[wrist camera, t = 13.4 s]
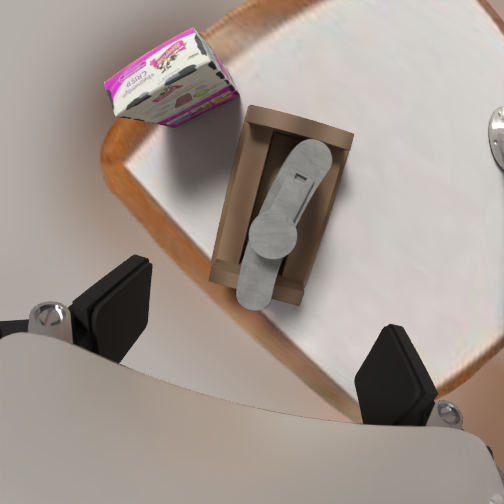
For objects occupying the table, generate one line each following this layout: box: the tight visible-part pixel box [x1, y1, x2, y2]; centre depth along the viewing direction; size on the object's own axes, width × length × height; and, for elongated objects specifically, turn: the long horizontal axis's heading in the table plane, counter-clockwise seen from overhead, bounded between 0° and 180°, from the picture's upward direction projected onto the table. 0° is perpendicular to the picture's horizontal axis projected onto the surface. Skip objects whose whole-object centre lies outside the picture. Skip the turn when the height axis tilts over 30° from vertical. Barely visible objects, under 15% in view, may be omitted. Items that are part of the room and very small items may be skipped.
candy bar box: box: [104, 28, 240, 128], centre depth 29 cm, size 11×5×16 cm, turn 113°
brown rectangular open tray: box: [209, 105, 354, 306], centre depth 36 cm, size 15×24×9 cm, turn 166°
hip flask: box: [236, 139, 332, 311], centre depth 30 cm, size 16×4×20 cm, turn 159°
